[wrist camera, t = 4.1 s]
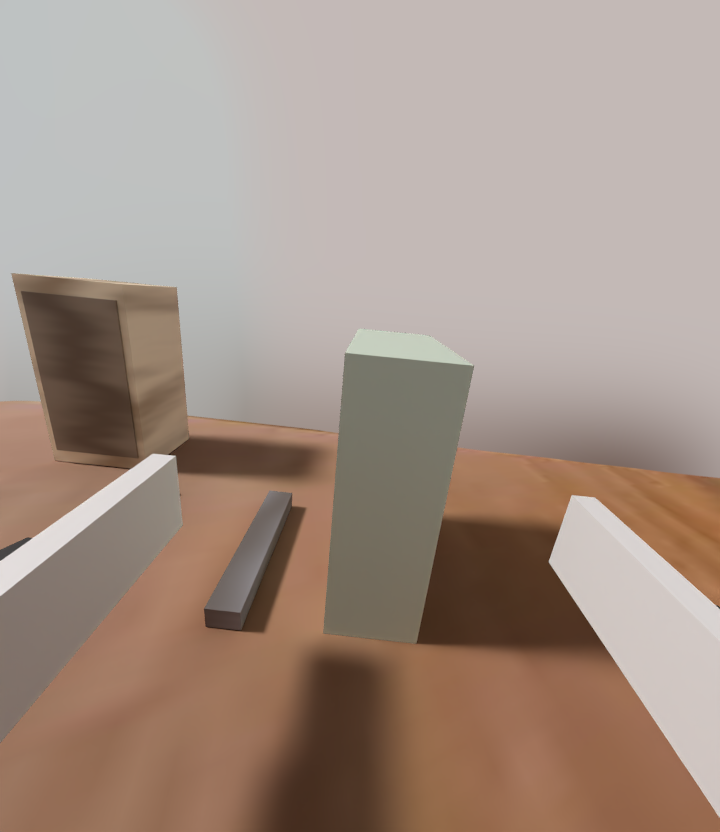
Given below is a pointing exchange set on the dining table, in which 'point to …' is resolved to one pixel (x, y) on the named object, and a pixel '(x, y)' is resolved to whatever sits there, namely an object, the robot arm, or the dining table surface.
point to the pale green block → (391, 480)
